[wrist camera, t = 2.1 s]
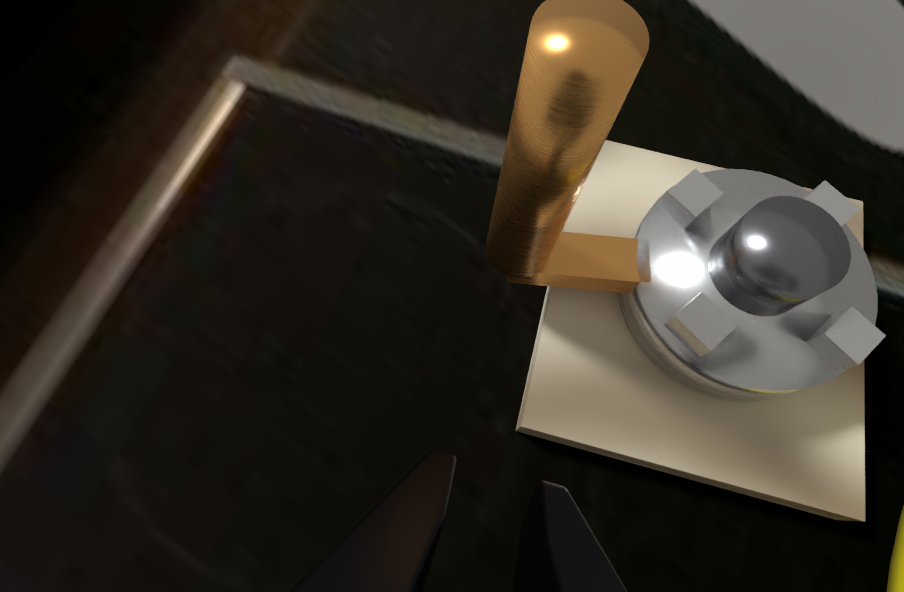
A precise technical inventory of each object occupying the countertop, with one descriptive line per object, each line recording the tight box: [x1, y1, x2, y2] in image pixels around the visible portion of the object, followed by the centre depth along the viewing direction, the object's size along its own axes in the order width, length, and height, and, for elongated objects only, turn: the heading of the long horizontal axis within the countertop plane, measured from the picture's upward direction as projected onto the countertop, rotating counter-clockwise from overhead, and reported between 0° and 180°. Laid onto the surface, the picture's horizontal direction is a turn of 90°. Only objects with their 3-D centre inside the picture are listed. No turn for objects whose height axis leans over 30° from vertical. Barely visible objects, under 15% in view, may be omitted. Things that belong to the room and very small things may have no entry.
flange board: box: [516, 140, 865, 522], centre depth 23 cm, size 14×13×2 cm
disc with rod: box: [486, 0, 886, 402], centre depth 17 cm, size 15×9×12 cm, turn 85°
